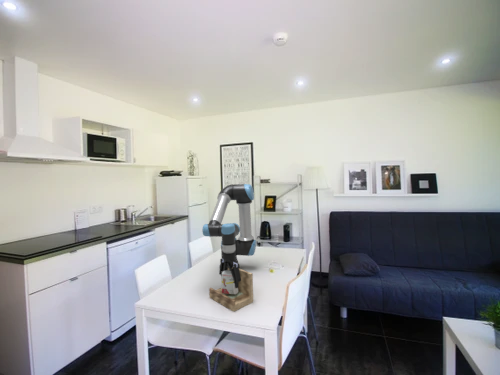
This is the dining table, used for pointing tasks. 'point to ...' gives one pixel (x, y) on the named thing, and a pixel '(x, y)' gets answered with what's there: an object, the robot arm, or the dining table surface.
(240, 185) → the robot arm
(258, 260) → the dining table surface
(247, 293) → the wooden holder
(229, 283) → the ink box
